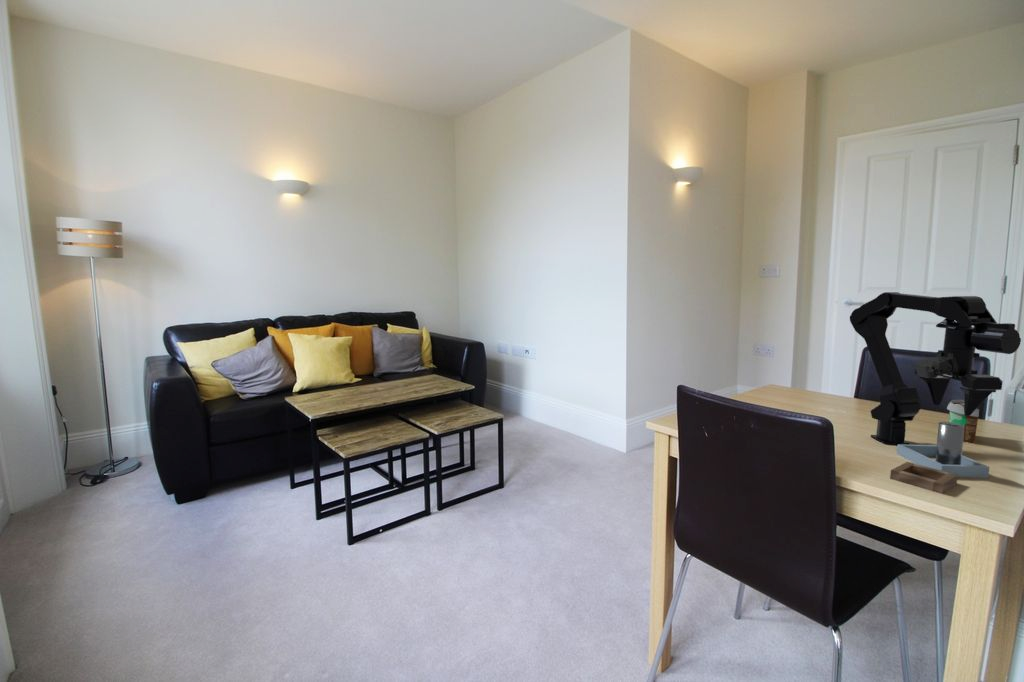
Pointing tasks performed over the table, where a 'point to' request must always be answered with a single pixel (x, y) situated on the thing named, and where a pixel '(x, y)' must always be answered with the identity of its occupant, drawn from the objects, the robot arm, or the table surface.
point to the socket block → (924, 477)
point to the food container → (964, 419)
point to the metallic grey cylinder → (949, 443)
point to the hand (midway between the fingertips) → (951, 410)
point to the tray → (919, 457)
